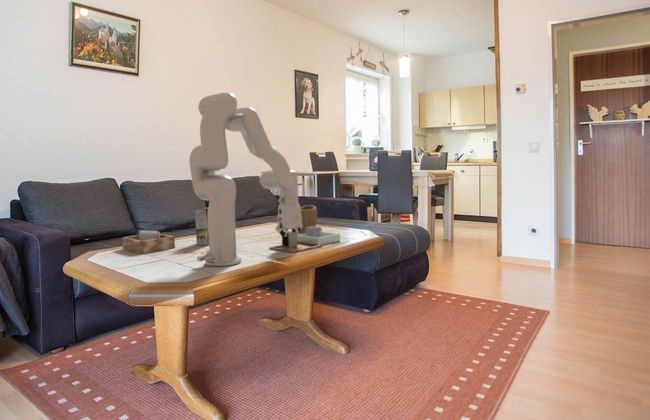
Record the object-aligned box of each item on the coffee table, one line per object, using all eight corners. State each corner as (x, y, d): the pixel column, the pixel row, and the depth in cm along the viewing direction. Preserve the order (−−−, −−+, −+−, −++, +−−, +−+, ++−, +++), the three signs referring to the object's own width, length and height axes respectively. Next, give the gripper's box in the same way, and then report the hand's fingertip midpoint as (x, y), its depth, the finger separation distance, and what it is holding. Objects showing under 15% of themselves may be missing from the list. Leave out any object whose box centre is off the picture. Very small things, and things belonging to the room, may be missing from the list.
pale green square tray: (318, 247, 182) (317, 238, 182) (295, 244, 192) (294, 235, 192) (340, 242, 193) (339, 233, 192) (317, 239, 202) (316, 230, 202)
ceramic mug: (159, 248, 188) (158, 230, 188) (139, 249, 186) (138, 232, 186) (162, 244, 199) (161, 228, 198) (143, 245, 197) (142, 228, 196)
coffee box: (210, 245, 194) (208, 208, 192) (196, 245, 194) (194, 209, 192) (216, 241, 203) (214, 206, 201) (202, 241, 203) (200, 207, 201)
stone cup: (299, 239, 204) (298, 207, 203) (290, 235, 215) (289, 205, 213) (328, 236, 210) (328, 205, 209) (319, 233, 221) (318, 203, 219)
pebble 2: (313, 241, 191) (312, 228, 190) (306, 240, 194) (305, 227, 193) (320, 240, 194) (319, 226, 194) (312, 239, 197) (312, 226, 197)
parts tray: (293, 255, 168) (292, 251, 168) (269, 251, 178) (269, 247, 177) (321, 248, 180) (321, 245, 180) (298, 245, 189) (297, 241, 189)
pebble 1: (289, 247, 178) (289, 233, 177) (282, 246, 181) (282, 232, 180) (297, 246, 181) (297, 232, 181) (290, 245, 184) (289, 231, 184)
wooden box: (140, 253, 178) (139, 241, 177) (122, 248, 189) (121, 237, 189) (175, 247, 189) (175, 236, 188) (156, 243, 201) (156, 232, 200)
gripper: (279, 202, 171) (280, 249, 172) (310, 200, 183) (310, 243, 185) (267, 201, 176) (268, 246, 177) (297, 199, 188) (298, 241, 190)
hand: (289, 244), depth 181 cm, fingers closed on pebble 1, 4 cm apart
